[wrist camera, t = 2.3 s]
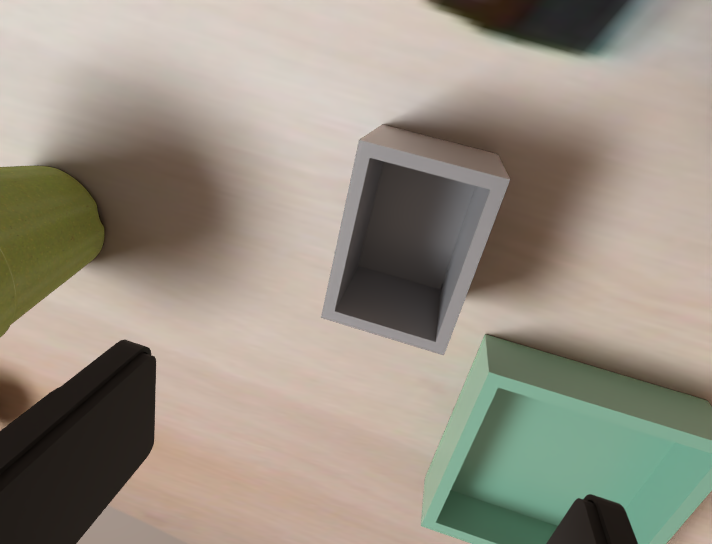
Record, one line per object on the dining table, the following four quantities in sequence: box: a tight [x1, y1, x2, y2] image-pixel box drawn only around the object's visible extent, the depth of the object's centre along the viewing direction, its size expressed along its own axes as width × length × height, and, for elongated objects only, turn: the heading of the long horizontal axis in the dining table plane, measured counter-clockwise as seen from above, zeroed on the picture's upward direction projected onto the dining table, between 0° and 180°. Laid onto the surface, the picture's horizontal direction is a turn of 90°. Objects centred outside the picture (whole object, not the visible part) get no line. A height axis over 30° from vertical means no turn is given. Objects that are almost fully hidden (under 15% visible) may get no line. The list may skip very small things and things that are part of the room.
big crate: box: [421, 334, 712, 544], centre depth 29 cm, size 14×14×4 cm
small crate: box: [321, 124, 510, 355], centre depth 23 cm, size 9×6×6 cm
